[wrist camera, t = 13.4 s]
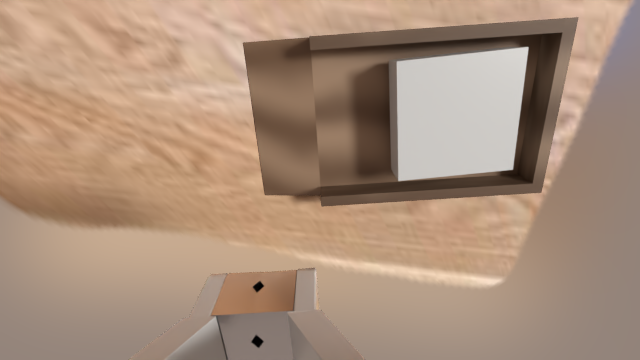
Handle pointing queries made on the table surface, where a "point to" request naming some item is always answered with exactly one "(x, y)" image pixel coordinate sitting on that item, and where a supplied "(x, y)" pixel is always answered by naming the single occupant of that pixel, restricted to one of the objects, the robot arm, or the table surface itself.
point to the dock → (374, 110)
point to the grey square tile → (455, 112)
